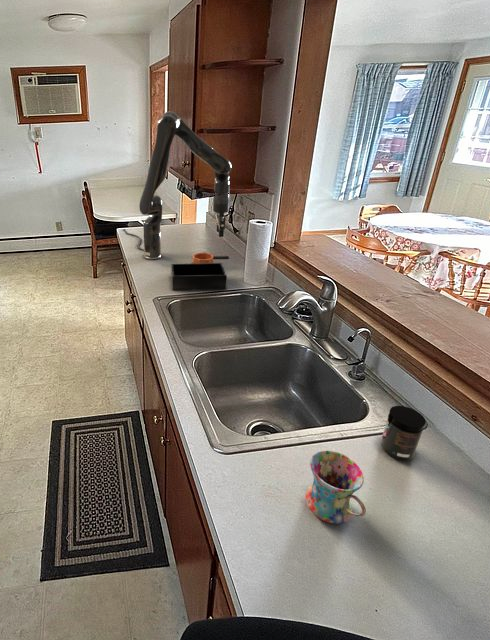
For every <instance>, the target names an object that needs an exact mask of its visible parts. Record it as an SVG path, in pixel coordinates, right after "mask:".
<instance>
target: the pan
mask: <svg viewBox="0 0 490 640" xmlns="http://www.w3.org/2000/svg"><path fill="white" fill-rule="evenodd" d="M214 260H230V256H229V255H213V254H212V253H208V252H196V253H195V254H192V264H200V263H214Z"/></svg>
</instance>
